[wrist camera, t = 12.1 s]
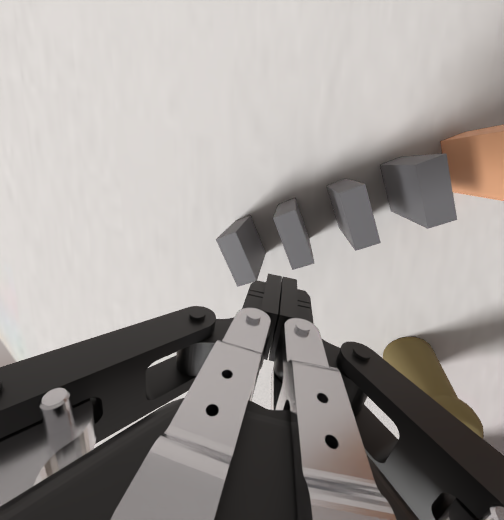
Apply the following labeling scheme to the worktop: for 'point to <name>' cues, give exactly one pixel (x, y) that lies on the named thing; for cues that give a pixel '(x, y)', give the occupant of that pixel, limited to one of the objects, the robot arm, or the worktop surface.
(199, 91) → the worktop surface
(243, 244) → the domino
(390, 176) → the domino
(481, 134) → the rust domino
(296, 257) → the domino
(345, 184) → the domino
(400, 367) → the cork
